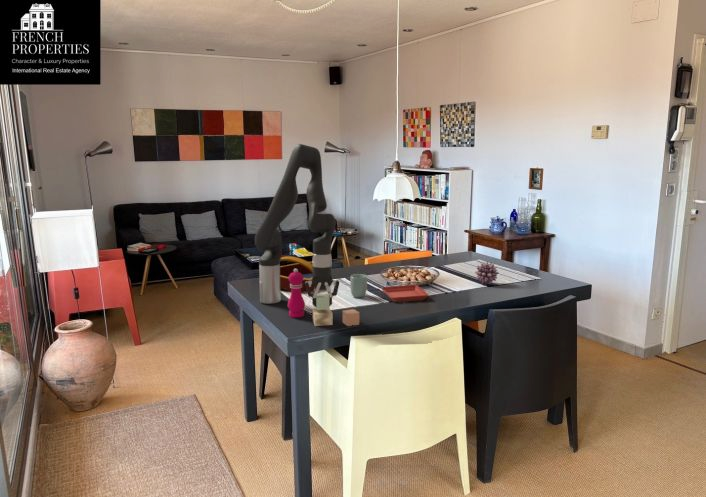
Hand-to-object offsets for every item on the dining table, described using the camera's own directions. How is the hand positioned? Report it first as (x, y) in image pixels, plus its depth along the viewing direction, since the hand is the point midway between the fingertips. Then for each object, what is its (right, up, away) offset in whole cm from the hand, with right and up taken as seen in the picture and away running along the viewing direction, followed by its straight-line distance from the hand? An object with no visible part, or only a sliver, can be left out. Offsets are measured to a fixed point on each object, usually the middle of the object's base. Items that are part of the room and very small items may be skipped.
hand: (322, 306), depth 212 cm
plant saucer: (+36, 0, +39) cm, 53 cm away
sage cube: (0, -1, 0) cm, 1 cm away
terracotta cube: (+11, -7, +1) cm, 13 cm away
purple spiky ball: (+81, +4, +61) cm, 101 cm away
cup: (+15, 0, +38) cm, 41 cm away
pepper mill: (-11, -5, +10) cm, 16 cm away
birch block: (0, -7, +1) cm, 7 cm away
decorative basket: (-17, +4, +60) cm, 63 cm away
